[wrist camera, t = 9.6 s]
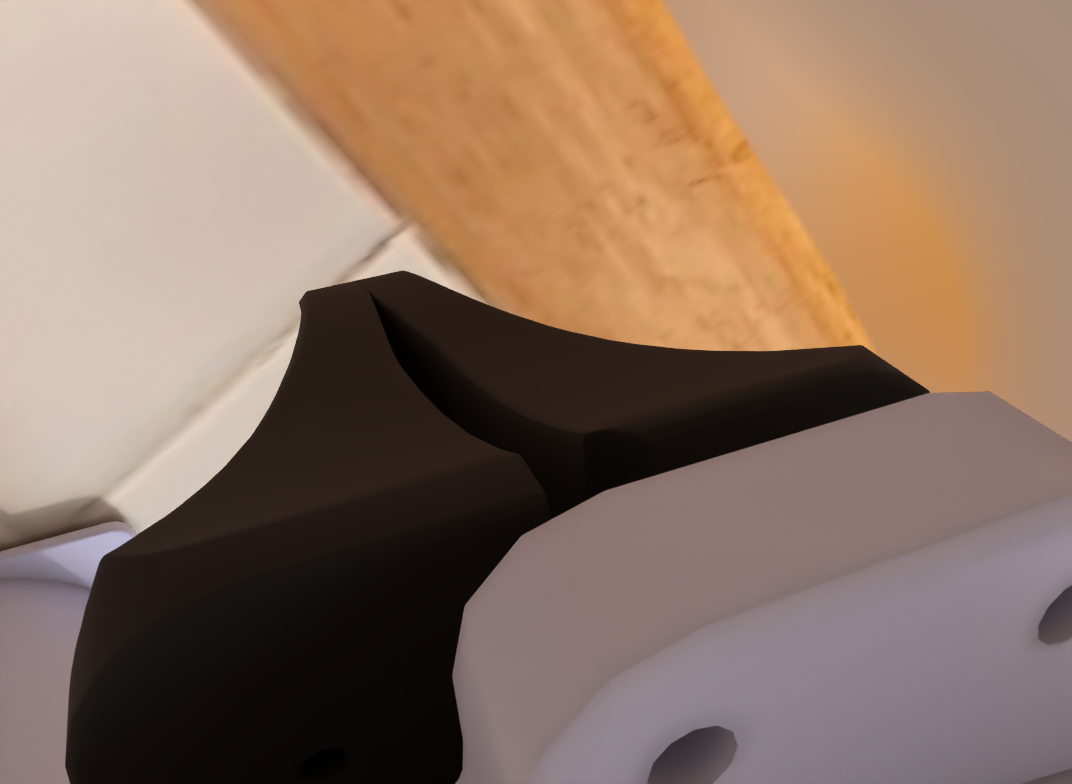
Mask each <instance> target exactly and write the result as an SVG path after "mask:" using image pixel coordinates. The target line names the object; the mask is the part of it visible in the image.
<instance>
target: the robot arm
mask: <svg viewBox="0 0 1072 784" xmlns="http://www.w3.org/2000/svg"><path fill="white" fill-rule="evenodd" d="M299 304H300V308H301V322H300V328H299V333H298V337H297V340H296V344H295V347H294V351H293V354H292V358H291V361H290V363H289V366H288V368H287V371H286V373H285V375H284V378H283V380H282V382H281V385H280V387H279V389H278V391H277V394H276V396H275V398H274V400H273V401H272V403H271V405H270V407H269V409H268V411H267V412H266V414H265V416H264V417H263V419H262V420H261V422H260V424H259V425H258V427H257V428H256V430H255V431H254V433H253V434H252V436H251V437H250V438H249V439H248V441H247V442H246V443H245V444H244V445H243V446H242V448H241V449H240V450H239V451H238V452H237V453H236V454H235V456H234V457H233V458H232V459H231V460H230V461H229V462H228V464H227V465H226V466H225V467H224V468H223V469H222V470H221V471H220V472H219V473H218V474H216V475H215V476H214V477H213V478H212V479H211V480H210V481H209V482H208V483H207V484H206V485H205V486H203V487H202V488H201V489H200V490H199V491H197V492H196V493H195V494H194V495H193V496H191V497H190V498H189V499H188V500H186V501H185V502H184V503H183V504H182V505H180V506H179V507H178V508H176V509H175V510H174V511H172V512H171V513H170V514H168V515H167V516H165V517H164V518H162V519H161V520H159V521H158V522H156V523H155V524H153V525H152V526H150V527H149V528H147V529H145V530H144V531H142V532H141V533H139V534H138V535H136V533H135V531H134V530H133V528H132V527H131V526H129V525H128V524H126V523H124V522H118V521H113V522H106V523H103V524H99V525H95V526H92V527H88V528H84V529H81V530H77V531H73V532H70V533H66V534H62V535H59V536H55V537H51V538H48V539H44V540H40V541H36V542H33V543H29V544H25V545H22V546H18V547H14V548H11V549H7V550H3V551H0V784H1072V442H1070V441H1069V440H1067V439H1065V438H1064V437H1062V436H1060V435H1059V434H1057V433H1056V432H1054V431H1052V430H1051V429H1049V428H1048V427H1046V426H1044V425H1043V424H1041V423H1040V422H1038V421H1036V420H1035V419H1033V418H1031V417H1030V416H1028V415H1027V414H1025V413H1023V412H1022V411H1020V410H1018V409H1017V408H1015V407H1014V406H1012V405H1011V404H1009V403H1007V402H1006V401H1004V400H1003V399H1001V398H999V397H997V396H996V395H994V394H993V393H991V392H955V393H954V392H951V393H930V392H929V390H927V389H926V388H924V387H923V386H921V385H920V384H918V383H917V382H915V381H914V380H912V379H911V378H910V377H908V376H907V375H905V374H904V373H902V372H901V371H899V370H898V369H896V368H895V367H893V366H892V365H890V364H889V363H887V362H886V361H884V360H883V359H882V358H880V357H879V356H877V355H876V354H874V353H873V352H871V351H870V350H868V349H867V348H865V347H864V346H862V345H857V346H843V347H828V348H813V349H798V350H783V351H706V350H688V349H675V348H666V347H657V346H648V345H639V344H631V343H625V342H618V341H612V340H607V339H602V338H597V337H593V336H588V335H583V334H579V333H574V332H570V331H566V330H562V329H558V328H554V327H551V326H547V325H544V324H541V323H538V322H535V321H532V320H529V319H525V318H522V317H519V316H516V315H513V314H510V313H508V312H505V311H502V310H500V309H497V308H494V307H492V306H489V305H487V304H484V303H482V302H479V301H477V300H474V299H472V298H469V297H467V296H465V295H462V294H460V293H458V292H455V291H453V290H451V289H448V288H446V287H444V286H442V285H439V284H437V283H435V282H433V281H430V280H428V279H425V278H423V277H421V276H418V275H416V274H413V273H410V272H407V271H399V272H394V273H389V274H385V275H380V276H376V277H371V278H366V279H362V280H357V281H353V282H348V283H343V284H339V285H334V286H329V287H325V288H320V289H316V290H311V291H306V293H305V294H304V296H303V297H302V299H301V300H300V301H299Z"/></svg>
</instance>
